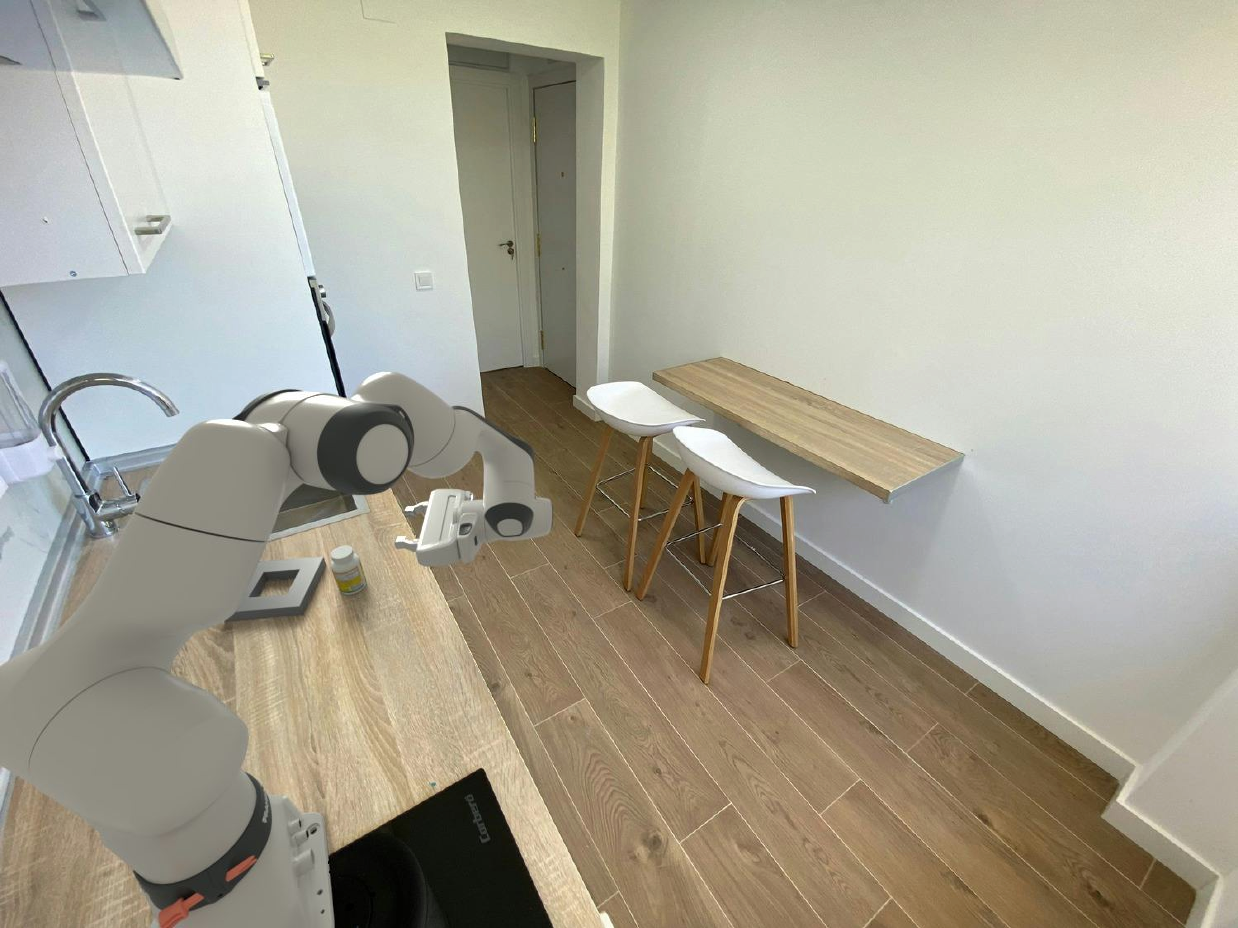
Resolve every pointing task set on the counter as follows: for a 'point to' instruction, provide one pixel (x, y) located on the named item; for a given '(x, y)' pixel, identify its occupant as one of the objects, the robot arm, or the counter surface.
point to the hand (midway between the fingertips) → (400, 527)
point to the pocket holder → (281, 605)
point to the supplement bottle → (347, 570)
